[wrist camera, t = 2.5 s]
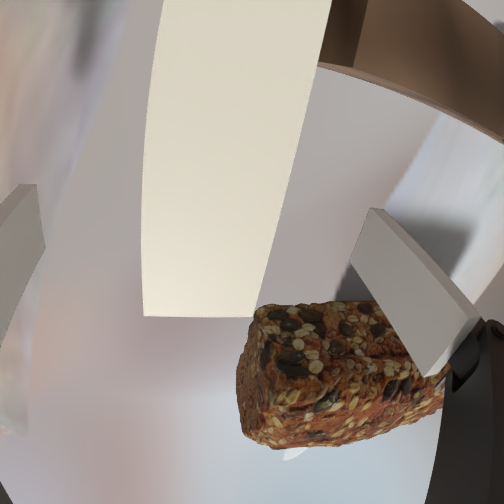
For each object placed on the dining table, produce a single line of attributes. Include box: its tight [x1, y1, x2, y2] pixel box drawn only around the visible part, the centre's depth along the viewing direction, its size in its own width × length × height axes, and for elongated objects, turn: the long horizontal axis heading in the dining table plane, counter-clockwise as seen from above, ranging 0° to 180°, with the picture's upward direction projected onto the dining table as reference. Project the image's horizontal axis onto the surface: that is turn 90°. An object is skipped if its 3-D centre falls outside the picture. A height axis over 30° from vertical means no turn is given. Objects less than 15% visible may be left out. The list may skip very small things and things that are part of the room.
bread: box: [236, 301, 451, 450], centre depth 24 cm, size 19×11×10 cm, turn 77°
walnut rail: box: [317, 0, 504, 145], centre depth 12 cm, size 4×22×8 cm, turn 79°
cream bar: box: [141, 0, 332, 317], centre depth 10 cm, size 16×4×8 cm, turn 169°
